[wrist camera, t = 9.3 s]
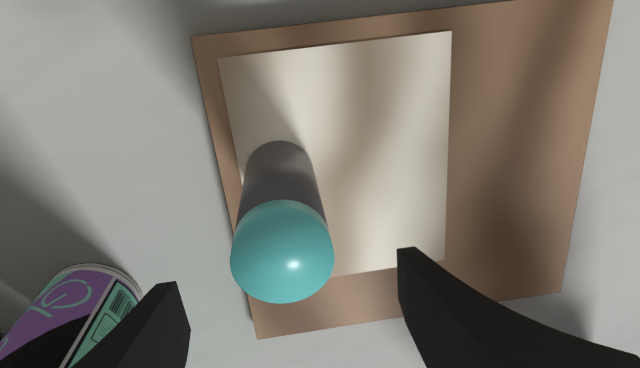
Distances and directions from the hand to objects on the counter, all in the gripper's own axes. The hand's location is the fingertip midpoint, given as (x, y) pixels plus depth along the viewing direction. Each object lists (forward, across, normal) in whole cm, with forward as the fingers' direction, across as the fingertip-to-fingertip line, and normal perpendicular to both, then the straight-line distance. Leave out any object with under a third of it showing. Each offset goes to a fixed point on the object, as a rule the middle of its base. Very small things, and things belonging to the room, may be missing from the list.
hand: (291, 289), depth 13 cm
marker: (+9, 0, -1) cm, 9 cm away
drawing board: (+10, -7, +1) cm, 12 cm away
